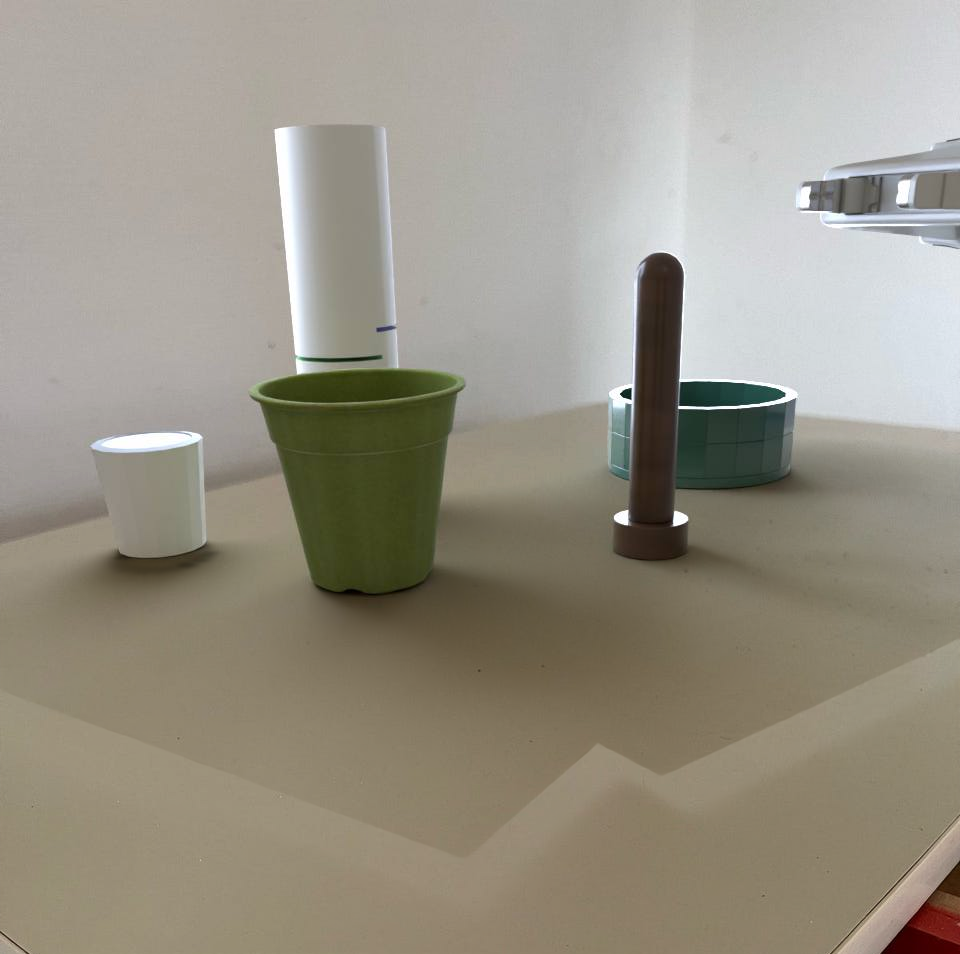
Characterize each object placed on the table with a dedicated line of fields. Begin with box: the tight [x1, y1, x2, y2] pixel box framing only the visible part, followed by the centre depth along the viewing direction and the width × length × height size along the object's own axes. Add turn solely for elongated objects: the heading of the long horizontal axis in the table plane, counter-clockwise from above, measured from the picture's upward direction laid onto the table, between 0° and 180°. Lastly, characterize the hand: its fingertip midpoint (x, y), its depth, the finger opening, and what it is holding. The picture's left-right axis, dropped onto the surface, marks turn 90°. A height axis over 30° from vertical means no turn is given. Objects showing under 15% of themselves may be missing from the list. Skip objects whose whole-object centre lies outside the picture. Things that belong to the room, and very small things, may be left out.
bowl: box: [606, 379, 798, 490], centre depth 83 cm, size 15×15×6 cm
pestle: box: [612, 251, 690, 561], centre depth 61 cm, size 5×5×17 cm
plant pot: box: [248, 367, 467, 595], centre depth 58 cm, size 12×12×11 cm
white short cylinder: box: [90, 430, 207, 559], centre depth 67 cm, size 7×7×7 cm
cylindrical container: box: [274, 123, 400, 374], centre depth 71 cm, size 7×7×25 cm
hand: (850, 194), depth 60 cm, fingers open, 8 cm apart
